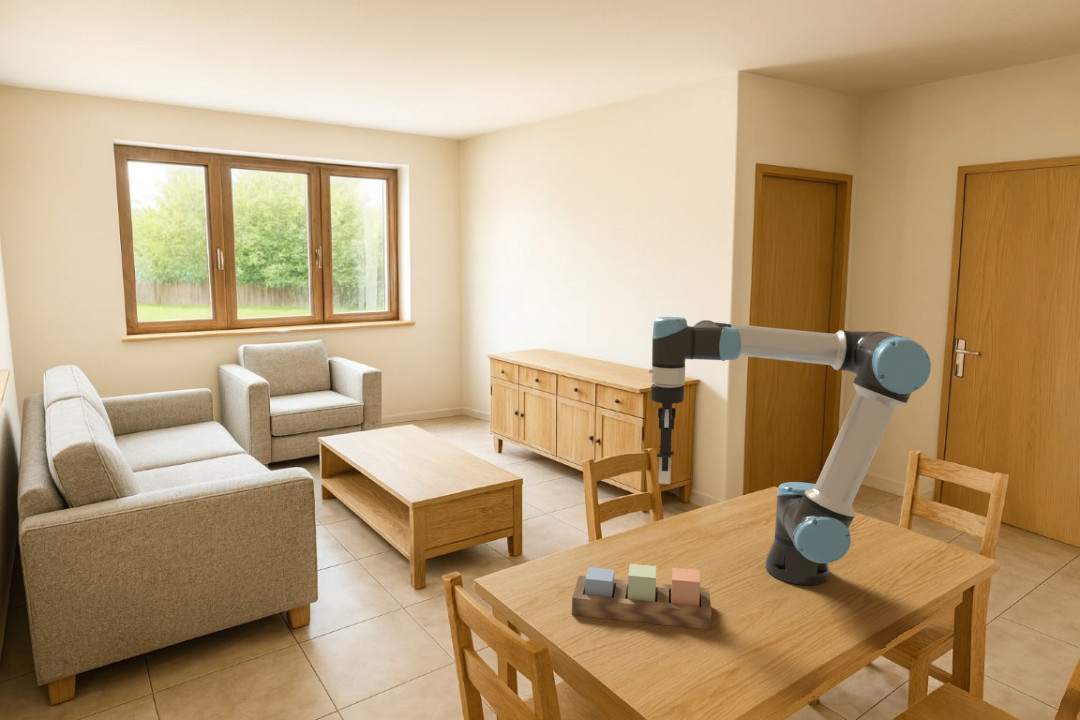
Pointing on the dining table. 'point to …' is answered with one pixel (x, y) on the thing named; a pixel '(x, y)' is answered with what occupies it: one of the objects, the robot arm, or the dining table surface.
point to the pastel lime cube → (642, 582)
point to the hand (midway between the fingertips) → (664, 482)
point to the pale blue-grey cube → (599, 582)
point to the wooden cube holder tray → (642, 606)
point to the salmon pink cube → (685, 587)
